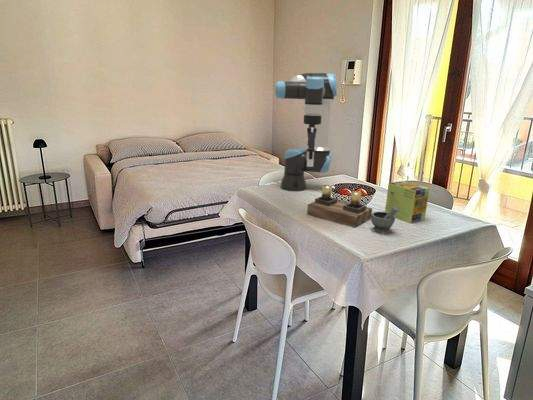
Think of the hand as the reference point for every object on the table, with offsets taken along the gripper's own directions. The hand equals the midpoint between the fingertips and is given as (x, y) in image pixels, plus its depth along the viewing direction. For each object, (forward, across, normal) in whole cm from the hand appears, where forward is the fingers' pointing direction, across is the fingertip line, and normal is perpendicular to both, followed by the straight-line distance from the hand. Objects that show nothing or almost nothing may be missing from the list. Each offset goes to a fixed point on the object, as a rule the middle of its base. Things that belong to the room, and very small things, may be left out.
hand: (309, 163), depth 168 cm
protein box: (+26, -9, +47) cm, 54 cm away
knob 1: (+17, -8, +9) cm, 21 cm away
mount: (+25, -3, +15) cm, 30 cm away
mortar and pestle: (+26, +12, +33) cm, 43 cm away
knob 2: (+17, +1, +21) cm, 27 cm away
